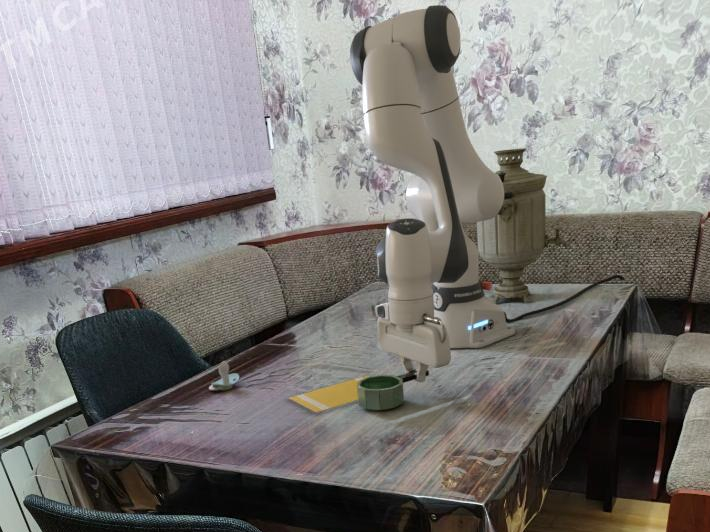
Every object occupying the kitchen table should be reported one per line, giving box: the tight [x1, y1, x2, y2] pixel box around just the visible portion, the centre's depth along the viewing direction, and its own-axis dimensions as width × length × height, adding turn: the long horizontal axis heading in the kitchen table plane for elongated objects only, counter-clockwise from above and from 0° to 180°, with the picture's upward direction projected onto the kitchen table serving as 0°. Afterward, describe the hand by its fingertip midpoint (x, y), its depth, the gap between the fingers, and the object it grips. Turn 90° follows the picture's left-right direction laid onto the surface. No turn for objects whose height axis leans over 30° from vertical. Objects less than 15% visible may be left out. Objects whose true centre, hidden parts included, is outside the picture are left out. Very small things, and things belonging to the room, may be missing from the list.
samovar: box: [476, 147, 569, 305], centre depth 202 cm, size 30×26×40 cm
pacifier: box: [208, 360, 240, 392], centre depth 160 cm, size 7×6×6 cm
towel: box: [288, 375, 370, 413], centre depth 151 cm, size 20×12×1 cm, turn 124°
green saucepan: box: [357, 369, 430, 411], centre depth 143 cm, size 16×9×4 cm, turn 124°
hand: (415, 379), depth 145 cm, fingers closed on green saucepan, 2 cm apart
